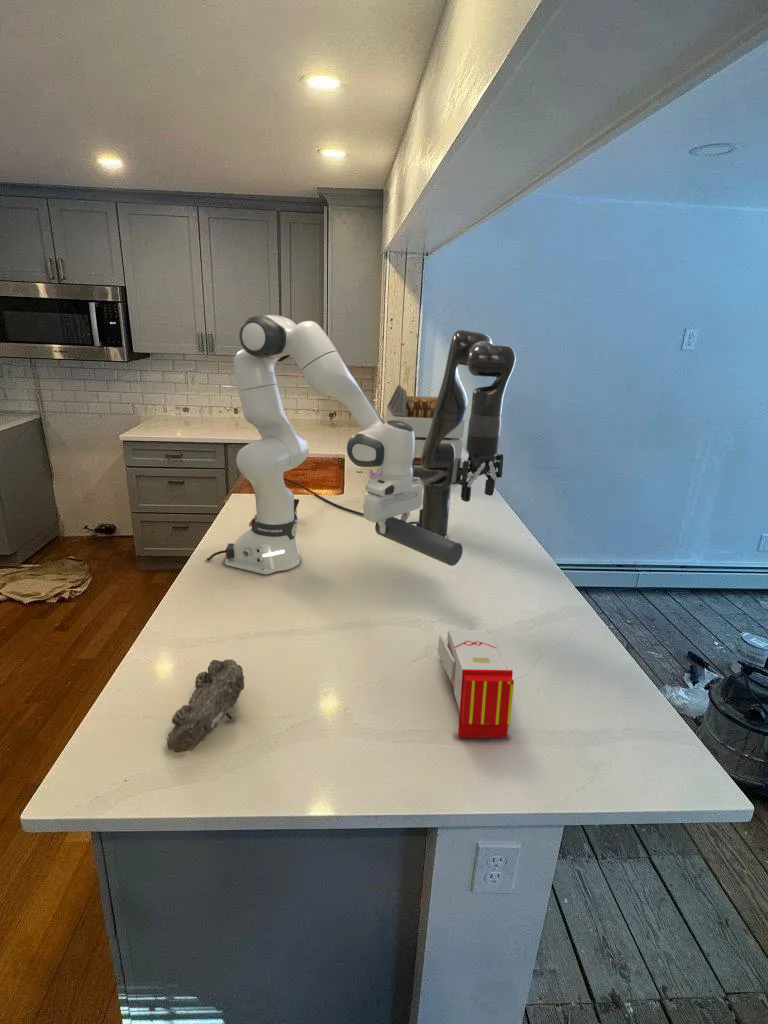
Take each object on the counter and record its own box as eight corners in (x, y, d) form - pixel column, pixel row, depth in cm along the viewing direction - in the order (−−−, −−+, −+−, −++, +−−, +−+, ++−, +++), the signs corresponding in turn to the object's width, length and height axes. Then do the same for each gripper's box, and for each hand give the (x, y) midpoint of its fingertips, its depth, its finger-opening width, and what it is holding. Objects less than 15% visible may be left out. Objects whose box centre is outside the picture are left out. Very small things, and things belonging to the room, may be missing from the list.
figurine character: (295, 534, 198) (300, 515, 212) (294, 515, 195) (299, 497, 208) (275, 534, 198) (282, 514, 212) (275, 514, 195) (281, 496, 208)
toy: (488, 613, 130) (523, 677, 101) (484, 667, 133) (517, 744, 104) (435, 612, 130) (455, 676, 101) (432, 666, 133) (451, 743, 103)
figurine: (370, 511, 220) (372, 474, 215) (359, 503, 229) (360, 467, 224) (392, 508, 224) (394, 471, 219) (380, 500, 233) (381, 465, 228)
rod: (461, 562, 147) (463, 540, 145) (446, 568, 142) (449, 546, 140) (389, 531, 163) (390, 511, 161) (374, 537, 159) (375, 516, 157)
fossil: (192, 660, 117) (244, 628, 112) (224, 691, 120) (276, 661, 115) (142, 746, 98) (202, 712, 93) (182, 779, 101) (242, 748, 96)
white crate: (382, 463, 289) (386, 382, 275) (445, 464, 293) (451, 384, 279) (390, 482, 257) (394, 392, 243) (460, 483, 261) (468, 394, 247)
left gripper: (412, 472, 162) (409, 518, 167) (360, 485, 148) (358, 534, 153) (429, 478, 158) (425, 524, 163) (378, 491, 144) (375, 541, 149)
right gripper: (491, 427, 141) (484, 489, 146) (451, 432, 132) (445, 498, 138) (515, 432, 135) (507, 497, 141) (475, 438, 127) (468, 507, 132)
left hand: (392, 529), depth 158 cm, fingers closed on rod, 6 cm apart
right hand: (477, 497), depth 139 cm, fingers open, 8 cm apart
